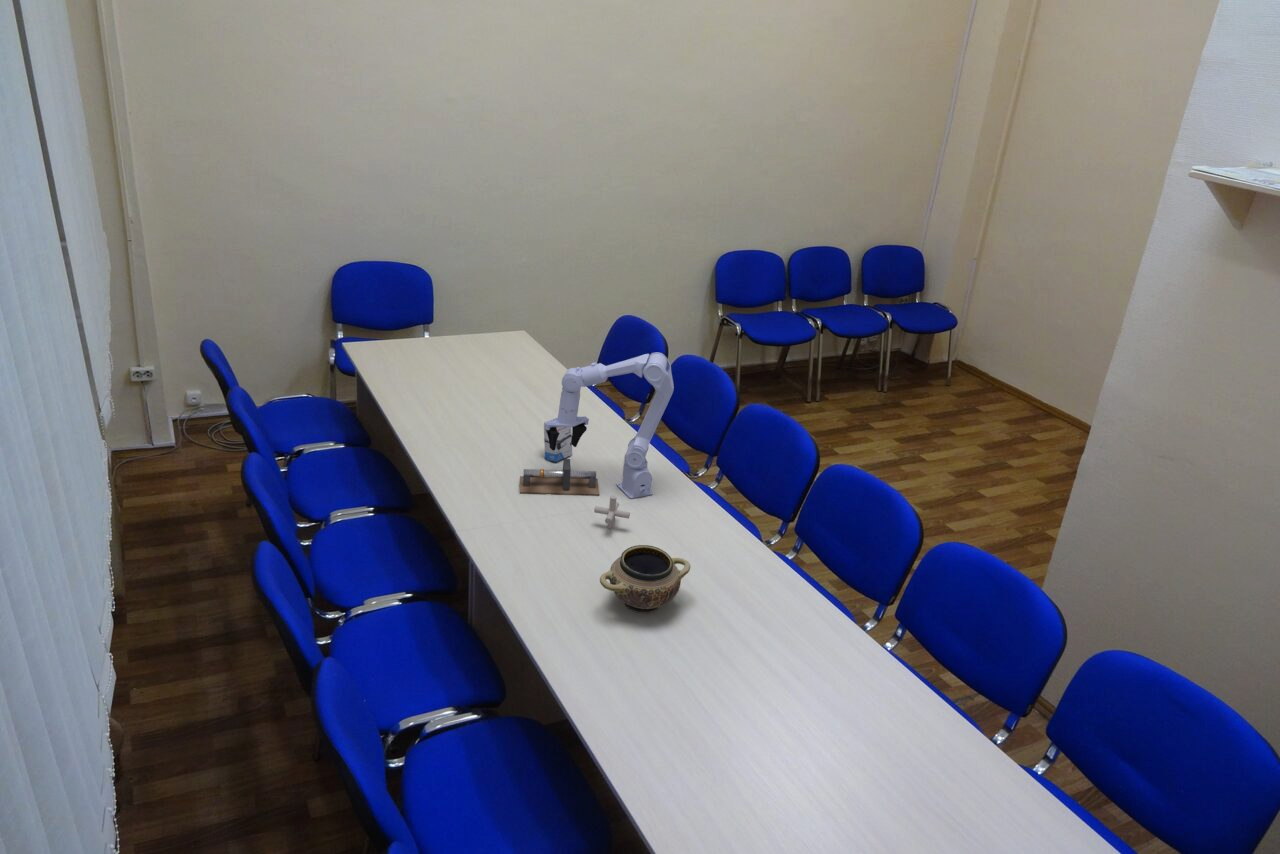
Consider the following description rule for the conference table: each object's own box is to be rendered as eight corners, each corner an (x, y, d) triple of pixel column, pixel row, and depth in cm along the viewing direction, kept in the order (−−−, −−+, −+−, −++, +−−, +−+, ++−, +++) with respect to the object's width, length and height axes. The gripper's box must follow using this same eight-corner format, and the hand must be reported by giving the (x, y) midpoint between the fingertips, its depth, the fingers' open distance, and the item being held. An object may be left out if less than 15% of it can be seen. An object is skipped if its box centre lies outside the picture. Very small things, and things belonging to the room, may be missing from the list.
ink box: (555, 462, 296) (554, 428, 292) (544, 459, 299) (542, 425, 294) (573, 454, 302) (572, 420, 298) (561, 451, 305) (560, 417, 301)
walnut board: (597, 480, 289) (597, 478, 288) (599, 495, 280) (599, 494, 280) (520, 477, 286) (520, 476, 285) (519, 493, 277) (519, 492, 276)
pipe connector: (624, 539, 258) (626, 508, 254) (589, 533, 260) (591, 502, 256) (631, 522, 267) (634, 492, 263) (598, 516, 269) (600, 486, 265)
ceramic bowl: (605, 635, 223) (615, 594, 214) (582, 581, 235) (591, 540, 226) (695, 618, 233) (709, 578, 224) (669, 566, 245) (681, 527, 236)
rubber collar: (568, 479, 286) (570, 458, 283) (569, 490, 280) (570, 469, 277) (562, 478, 286) (563, 458, 283) (562, 489, 279) (564, 469, 276)
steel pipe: (594, 483, 285) (595, 469, 283) (595, 488, 283) (596, 473, 280) (523, 481, 282) (523, 466, 280) (523, 486, 280) (523, 471, 278)
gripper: (582, 399, 284) (576, 438, 290) (541, 404, 276) (536, 444, 281) (594, 409, 279) (588, 448, 285) (552, 414, 271) (547, 455, 276)
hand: (563, 447), depth 283 cm, fingers open, 7 cm apart
